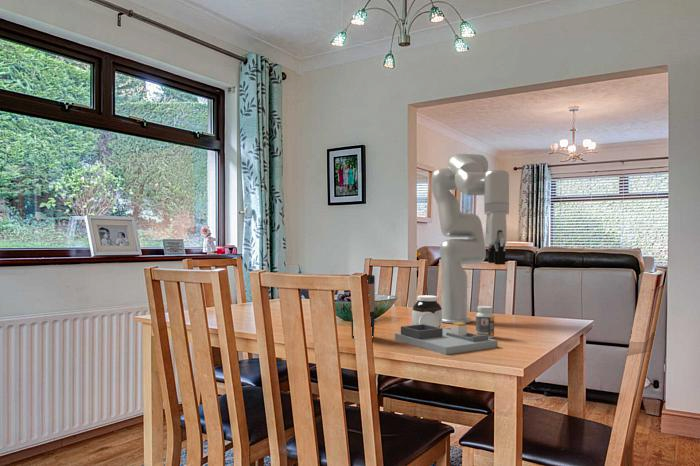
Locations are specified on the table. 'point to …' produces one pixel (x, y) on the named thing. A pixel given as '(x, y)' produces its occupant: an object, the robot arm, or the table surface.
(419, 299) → the spread jar
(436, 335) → the panel
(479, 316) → the pill bottle
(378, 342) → the table surface
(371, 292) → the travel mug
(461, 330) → the toggle
